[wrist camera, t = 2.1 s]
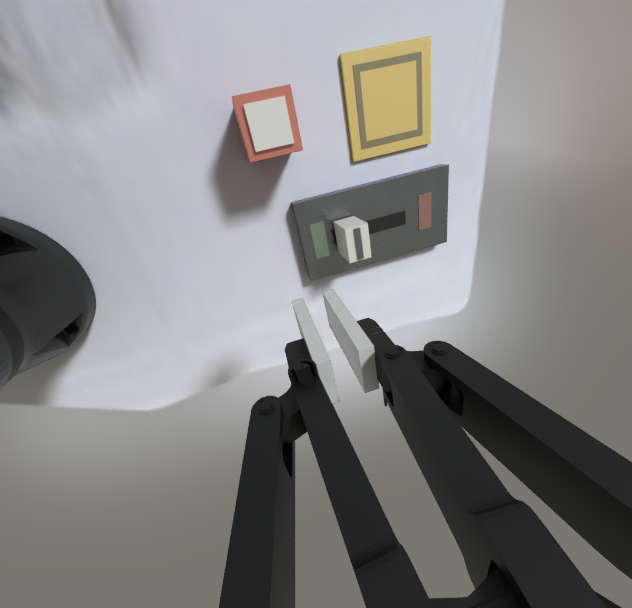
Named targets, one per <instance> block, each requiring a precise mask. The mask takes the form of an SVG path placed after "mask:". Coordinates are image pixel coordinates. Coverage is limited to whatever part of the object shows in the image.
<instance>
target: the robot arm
mask: <svg viewBox="0 0 632 608" xmlns="http://www.w3.org/2000/svg"><path fill="white" fill-rule="evenodd" d="M322 293H323V298H324V302H325V307H326V312H327V316H328V321H329V326H330V328H331V330H332V332H333V333H334V335H335V337H336V339H337V341H338V343H339V345H340V347H341V348H342V350H343V352H344V354H345V356H346V358H347V360H348V362H349V364H350V365H351V367H352V369H353V371H354V373H355V375H356V377H357V379H358V381H359V382H360V384H361V386H362V388H363V390H364V392H365V393H367V392H370V391H373V390H376V389H379V383H380V384H381V386H382V387H383V396H384V404H385V406H387V403H388V405H389V407H390V409H391V411H392V413H393V415H394V417H395V419H396V421H397V423H398V425H399V427H400V429H401V431H402V433H403V435H404V437H405V439H406V441H407V443H408V445H409V447H410V449H411V451H412V453H413V455H414V457H415V459H416V461H417V463H418V465H419V467H420V469H421V471H422V473H423V475H424V477H425V479H426V481H427V483H428V485H429V487H430V489H431V491H432V493H433V495H434V497H435V499H436V501H437V503H438V505H439V507H440V509H441V511H442V513H443V515H444V517H445V519H446V521H447V523H448V525H449V527H450V529H451V531H452V533H453V535H454V537H455V540H456V542H457V543H458V546H459V548H460V550H461V552H462V554H463V557H464V560H465V564H466V567H467V570H468V573H469V576H470V578H471V581H472V583H473V585H474V587H475V590H474V591H473V592H472V593H471V595H469V596H468V597H463V598H436V599H435V598H434V599H429V598H428V596H427V593H426V591H425V589H424V587H423V585H422V583H421V581H420V579H419V577H418V575H417V574H416V571H415V569H414V567H413V565H412V562H411V561H410V559H409V557H408V555H407V553H406V551H405V550H404V548H403V546H402V545H401V544H400V543H399V542H398V540H397V538H396V537H395V534H394V532H393V530H392V528H391V526H390V524H389V522H388V520H387V518H386V516H385V514H384V511H383V509H382V507H381V505H380V503H379V501H378V499H377V497H376V495H375V492H374V490H373V488H372V486H371V484H370V482H369V480H368V478H367V476H366V474H365V472H364V469H363V467H362V465H361V463H360V461H359V459H358V457H357V455H356V453H355V451H354V448H353V446H352V444H351V442H350V440H349V438H348V436H347V434H346V432H345V429H344V427H343V425H342V423H341V421H340V419H339V417H338V415H337V413H336V411H335V409H334V406H333V404H334V403H337V402H340V399H339V395H338V390H337V386H336V382H335V377H334V373H333V369H332V364H331V360H330V358H329V355H328V353H327V351H326V349H325V346H324V344H323V342H322V340H321V337H320V335H319V333H318V331H317V328H316V326H315V324H314V322H313V319H312V317H311V315H310V313H309V310H308V308H307V306H306V304H305V301H304V299H303V298H300V299H296V300H293V301H292V305H293V308H294V312H295V315H296V319H297V323H298V326H299V330H300V333H301V336H302V339H300V340H297V341H293V342H290V343H287V345H286V348H285V353H286V357H287V361H288V366H289V369H288V375H289V378H290V381H291V387H290V388H289V390H288V391H287V392H286V393H285V394H283V395H282V396H280V397H279V398H277V397H275V396H266V397H263V398H261V399H259V400H258V401H257V402H256V403H255V404H254V405H253V407H252V410H251V415H250V421H249V427H248V433H247V440H246V446H245V451H244V458H243V464H242V470H241V476H240V482H239V488H238V495H237V500H236V506H235V512H234V518H233V524H232V530H231V537H230V543H229V549H228V555H227V561H226V567H225V573H224V579H223V585H222V591H221V597H220V603H219V608H295V440H296V439H298V438H299V437H300V436H302V435H303V434H305V433H306V432H308V435H309V438H310V441H311V444H312V447H313V450H314V452H315V456H316V458H317V462H318V465H319V468H320V471H321V474H322V477H323V480H324V482H325V486H326V489H327V492H328V495H329V498H330V501H331V503H332V507H333V510H334V512H335V515H336V518H337V521H338V524H339V527H340V530H341V533H342V536H343V539H344V542H345V545H346V548H347V551H348V554H349V557H350V560H351V563H352V566H353V569H354V572H355V575H356V578H357V581H358V584H359V587H360V590H361V593H362V596H363V599H364V602H365V605H366V608H621V607H620V606H618V605H616V604H615V603H613V602H612V601H610V600H608V599H607V598H605V597H603V596H602V595H600V594H598V593H597V592H595V591H594V590H593V589H592V588H591V586H590V585H589V584H588V582H587V581H586V580H585V578H584V577H583V576H582V574H581V573H580V572H579V570H578V569H577V568H576V567H575V565H574V564H573V563H572V561H571V560H570V559H569V557H568V556H567V555H566V553H565V552H564V551H563V549H562V548H561V547H560V545H559V544H558V543H557V541H556V540H555V539H554V537H553V536H552V535H551V534H550V532H549V531H548V529H547V528H546V527H545V526H544V524H543V523H542V522H541V520H540V519H539V518H538V516H537V515H536V514H535V513H534V511H533V510H532V509H531V508H530V507H529V506H528V505H526V504H525V503H524V502H523V501H519V500H516V499H515V498H513V497H512V496H511V495H510V493H509V492H508V491H507V489H506V488H505V487H504V485H503V484H502V483H501V481H500V480H499V478H498V477H497V476H496V474H495V473H494V471H493V470H492V469H491V467H490V466H489V465H488V463H487V462H486V460H485V459H484V458H483V456H482V455H481V454H480V452H479V451H478V449H477V448H476V447H475V445H474V444H473V442H472V441H471V440H470V438H469V437H468V436H467V434H466V433H465V431H464V430H463V429H462V427H463V428H464V429H465V430H466V431H467V432H468V433H469V434H470V435H471V436H473V437H474V438H475V439H476V440H477V441H478V442H479V443H480V444H481V445H482V446H483V447H485V448H486V449H487V450H488V451H489V452H490V453H491V454H492V455H493V456H494V457H496V459H498V460H499V461H500V462H501V463H502V464H503V465H504V466H505V467H506V468H507V469H509V470H510V471H511V472H512V473H513V474H514V475H515V476H516V477H517V478H518V479H520V481H522V482H523V483H524V484H525V485H526V486H527V487H528V488H529V489H530V490H531V491H532V492H533V493H535V494H536V495H537V496H538V497H539V498H540V499H541V500H542V501H543V502H544V503H546V504H547V505H548V506H549V507H550V508H551V509H552V510H553V511H554V512H555V513H556V514H558V515H559V516H560V517H561V518H562V519H563V520H564V521H565V522H566V523H567V524H568V525H569V526H571V527H572V528H573V529H574V530H575V531H576V532H577V533H578V534H579V535H580V536H581V537H582V538H584V539H585V540H586V541H587V542H588V543H589V544H590V545H591V546H592V547H593V548H594V549H596V550H597V551H598V552H599V553H600V554H602V555H603V556H604V557H605V558H606V559H607V560H608V561H610V562H611V563H612V564H613V565H614V566H615V567H617V568H618V569H619V570H620V571H622V572H623V573H624V574H626V575H627V576H628V577H629V578H631V579H632V462H630V461H629V460H627V459H626V458H624V457H623V456H621V455H619V454H618V453H617V452H615V451H614V450H612V449H611V448H609V447H607V446H606V445H604V444H603V443H601V442H600V441H598V440H597V439H595V438H594V437H592V436H591V435H589V434H587V433H586V432H584V431H583V430H581V429H580V428H578V427H577V426H575V425H574V424H572V423H571V422H569V421H567V420H566V419H564V418H563V417H561V416H560V415H558V414H557V413H555V412H554V411H552V410H551V409H549V408H547V407H546V406H544V405H543V404H541V403H540V402H538V401H536V400H535V399H534V398H532V397H530V396H529V395H527V394H526V393H524V392H523V391H521V390H520V389H518V388H517V387H515V386H513V385H512V384H511V383H509V382H507V381H506V380H504V379H503V378H501V377H500V376H498V375H497V374H495V373H494V372H492V371H491V370H489V369H487V368H486V367H484V366H483V365H481V364H480V363H478V362H477V361H475V360H474V359H472V358H471V357H469V356H467V355H466V354H464V353H463V352H461V351H460V350H458V349H457V348H455V347H454V346H452V345H451V344H449V343H446V342H443V341H432V342H429V343H427V344H426V345H425V347H424V351H406V350H405V349H404V348H403V347H401V346H398V345H395V344H394V343H393V342H392V341H391V340H390V338H389V337H388V336H387V335H386V333H385V332H384V331H383V330H382V329H381V327H380V326H379V325H378V324H377V323H376V321H374V320H372V319H370V318H366V319H363V320H359V321H356V320H355V319H354V317H353V316H352V314H351V313H350V312H349V310H348V309H347V307H346V306H345V304H344V303H343V302H342V300H341V299H340V297H339V296H338V295H337V293H336V292H335V290H334V289H330V290H327V291H324V292H322ZM95 306H96V301H95V294H94V290H93V286H92V284H91V281H90V279H89V277H88V275H87V274H86V272H85V270H84V269H83V268H82V266H81V265H80V264H79V262H78V261H77V260H76V259H75V258H74V257H73V256H72V255H71V254H70V253H69V252H68V251H67V250H66V249H65V248H64V247H62V246H61V245H60V244H58V243H57V242H56V241H54V240H53V239H51V238H50V237H48V236H47V235H45V234H43V233H41V232H39V231H38V230H36V229H34V228H31V227H29V226H27V225H25V224H22V223H19V222H17V221H14V220H10V219H7V218H3V217H0V389H1V388H2V387H3V386H4V385H5V384H6V383H7V382H8V381H9V380H10V379H11V378H12V377H13V376H15V375H17V374H19V373H21V372H23V371H25V370H27V369H29V368H32V367H34V366H36V365H38V364H40V363H42V362H44V361H47V360H49V359H51V358H53V357H55V356H57V355H59V354H61V353H63V352H64V351H65V350H67V349H68V348H70V347H71V346H72V345H73V344H74V343H75V342H76V341H77V340H78V339H79V338H80V337H81V336H82V335H83V333H84V332H85V331H86V330H87V329H88V327H89V326H90V324H91V322H92V320H93V317H94V313H95ZM378 381H379V382H378ZM460 425H461V426H462V427H461V426H460Z"/></svg>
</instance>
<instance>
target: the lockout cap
mask: <svg viewBox="0 0 632 608" xmlns="http://www.w3.org/2000/svg"><path fill="white" fill-rule="evenodd" d="M232 102H233V108H234V112H235V115H236V119H237V123H238V126H239V130H240V133H241V137H242V140H243V144H244V147H245V151H246V154H247V158H248V161H249V162H250V163H251V162H255V161H259V160H263V159H268V158H272V157H276V156H280V155H285V154H289V153H293V152H297V151H302V150H303V148H302V142H301V137H300V132H299V127H298V122H297V117H296V112H295V107H294V102H293V97H292V92H291V87H290V84H289V85H285V86H280V87H275V88H270V89H265V90H261V91H256V92H251V93H246V94H241V95H236V96H232Z"/></svg>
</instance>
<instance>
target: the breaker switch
mask: <svg viewBox="0 0 632 608" xmlns="http://www.w3.org/2000/svg"><path fill="white" fill-rule="evenodd" d="M333 223H334V229H335V235H336V241H337V247H338V252H339V253H340V254H341V255H342V256H343V257H344V258H345V259H346V260H347V261H348V262H349V263H353V262H356V261H360V260H364V259H367V258H371V248H370V238H369V229H368V223H367V222H365V221H363V220H361V219H359V218H357V217H355V216H352V217H348V218H344V219H340V220H337V221H333Z"/></svg>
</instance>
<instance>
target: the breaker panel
mask: <svg viewBox="0 0 632 608" xmlns="http://www.w3.org/2000/svg"><path fill="white" fill-rule="evenodd" d="M448 174H449V165H442V164H440V165H436V166H433V167H429V168H425V169H421V170H417V171H413V172H409V173H405V174H401V175H397V176H393V177H389V178H385V179H381V180H377V181H373V182H369V183H365V184H362V185H358V186H354V187H350V188H346V189H342V190H338V191H334V192H330V193H326V194H322V195H318V196H314V197H310V198H306V199H302V200H298V201H294V202H291V203H292V207H293V212H294V216H295V220H296V225H297V229H298V233H299V237H300V242H301V246H302V250H303V255H304V259H305V263H306V267H307V272H308V276H309V278H310V280H311V281H312V280H316V279H319V278H322V277H326V276H329V275H333V274H336V273H340V272H343V271H347V270H350V269H354V268H357V267H361V266H364V265H368V264H371V263H375V262H378V261H382V260H385V259H389V258H392V257H396V256H399V255H403V254H406V253H410V252H413V251H417V250H420V249H424V248H427V247H431V246H434V245H438V244H441V243H445V242H447V212H448ZM352 216H355V217H357V218H359V219H361V220H363V221H365V222H367V223H368V229H369V238H370V248H371V258H367V259H364V260H360V261H356V262H353V263H349V262H348V261H347V260H346V259H345V258H344V257H343V256H342V255H341V254H340V253H339V252H338V247H337V241H336V235H335V229H334V223H333V221H337V220H340V219H344V218H348V217H352Z"/></svg>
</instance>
